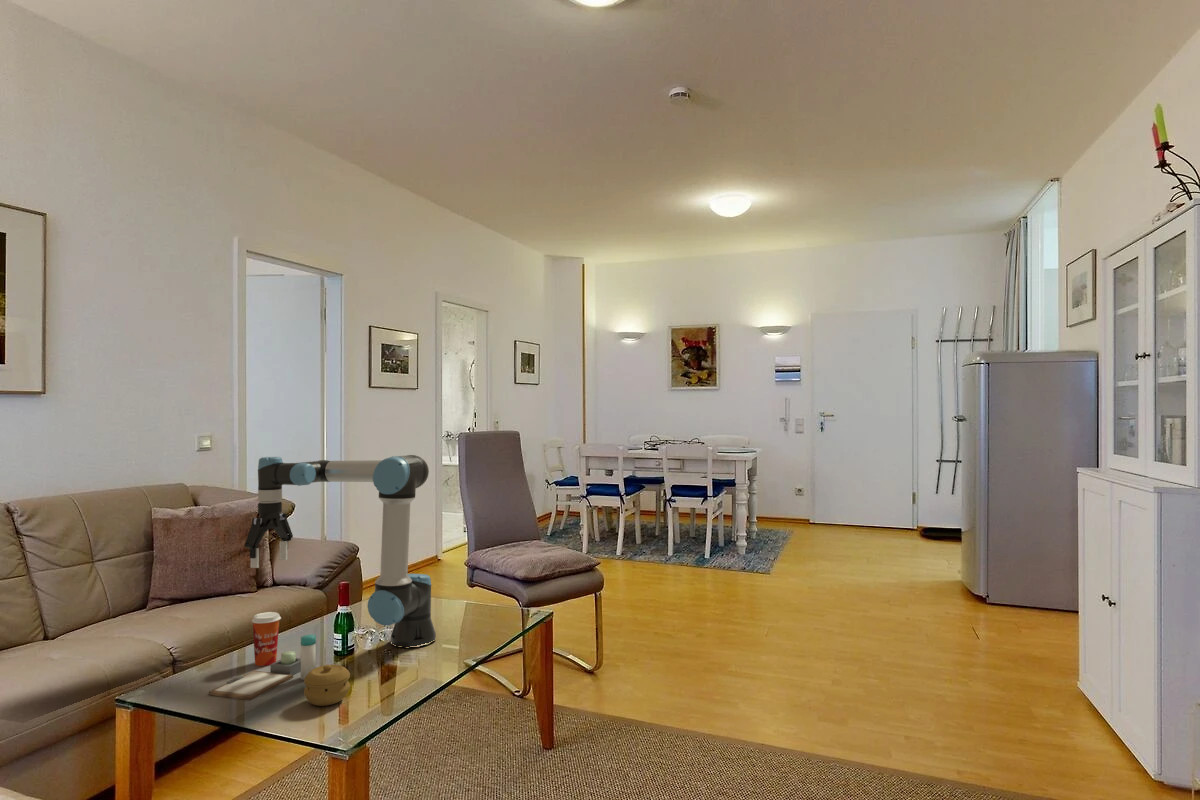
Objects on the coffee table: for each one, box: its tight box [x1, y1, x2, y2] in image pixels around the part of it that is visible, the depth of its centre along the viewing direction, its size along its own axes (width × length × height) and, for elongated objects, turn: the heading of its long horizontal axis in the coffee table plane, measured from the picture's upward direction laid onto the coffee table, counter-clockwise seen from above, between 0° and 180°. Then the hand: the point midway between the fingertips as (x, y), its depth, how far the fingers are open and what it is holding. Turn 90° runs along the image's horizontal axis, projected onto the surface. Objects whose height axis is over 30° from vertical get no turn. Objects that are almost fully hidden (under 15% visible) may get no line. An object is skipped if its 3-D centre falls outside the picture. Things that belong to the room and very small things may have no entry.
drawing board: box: [208, 670, 294, 701], centre depth 201 cm, size 14×17×2 cm
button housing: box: [269, 657, 301, 676], centre depth 212 cm, size 7×7×3 cm
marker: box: [300, 634, 317, 681], centre depth 208 cm, size 4×4×12 cm
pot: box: [303, 664, 351, 707], centre depth 190 cm, size 12×12×10 cm
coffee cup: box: [251, 611, 282, 667], centre depth 220 cm, size 8×8×15 cm
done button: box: [280, 650, 297, 665], centre depth 212 cm, size 4×4×4 cm
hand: (269, 563), depth 240 cm, fingers open, 13 cm apart
